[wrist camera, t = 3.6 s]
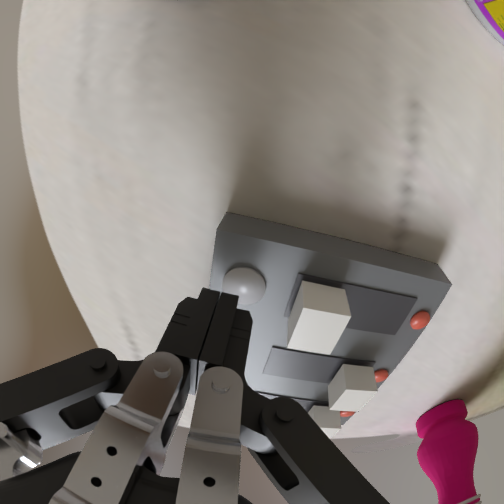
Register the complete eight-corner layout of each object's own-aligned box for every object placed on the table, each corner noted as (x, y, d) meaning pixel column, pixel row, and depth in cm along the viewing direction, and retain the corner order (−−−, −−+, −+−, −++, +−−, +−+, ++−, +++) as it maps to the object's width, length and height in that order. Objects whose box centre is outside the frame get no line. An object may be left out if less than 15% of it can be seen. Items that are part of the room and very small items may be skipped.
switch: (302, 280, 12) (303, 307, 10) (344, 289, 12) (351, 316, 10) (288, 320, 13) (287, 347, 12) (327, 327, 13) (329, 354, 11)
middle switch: (343, 363, 14) (346, 389, 13) (373, 367, 14) (377, 391, 13) (327, 386, 15) (329, 409, 14) (355, 388, 15) (358, 411, 14)
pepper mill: (407, 416, 22) (420, 580, 4) (468, 387, 19) (500, 549, 2) (415, 433, 24) (426, 567, 7) (466, 410, 21) (489, 543, 4)
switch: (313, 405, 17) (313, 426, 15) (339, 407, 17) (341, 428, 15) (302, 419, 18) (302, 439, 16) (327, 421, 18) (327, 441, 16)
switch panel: (226, 212, 13) (215, 231, 11) (437, 264, 13) (453, 286, 11) (204, 383, 21) (197, 405, 19) (341, 406, 21) (342, 426, 19)
